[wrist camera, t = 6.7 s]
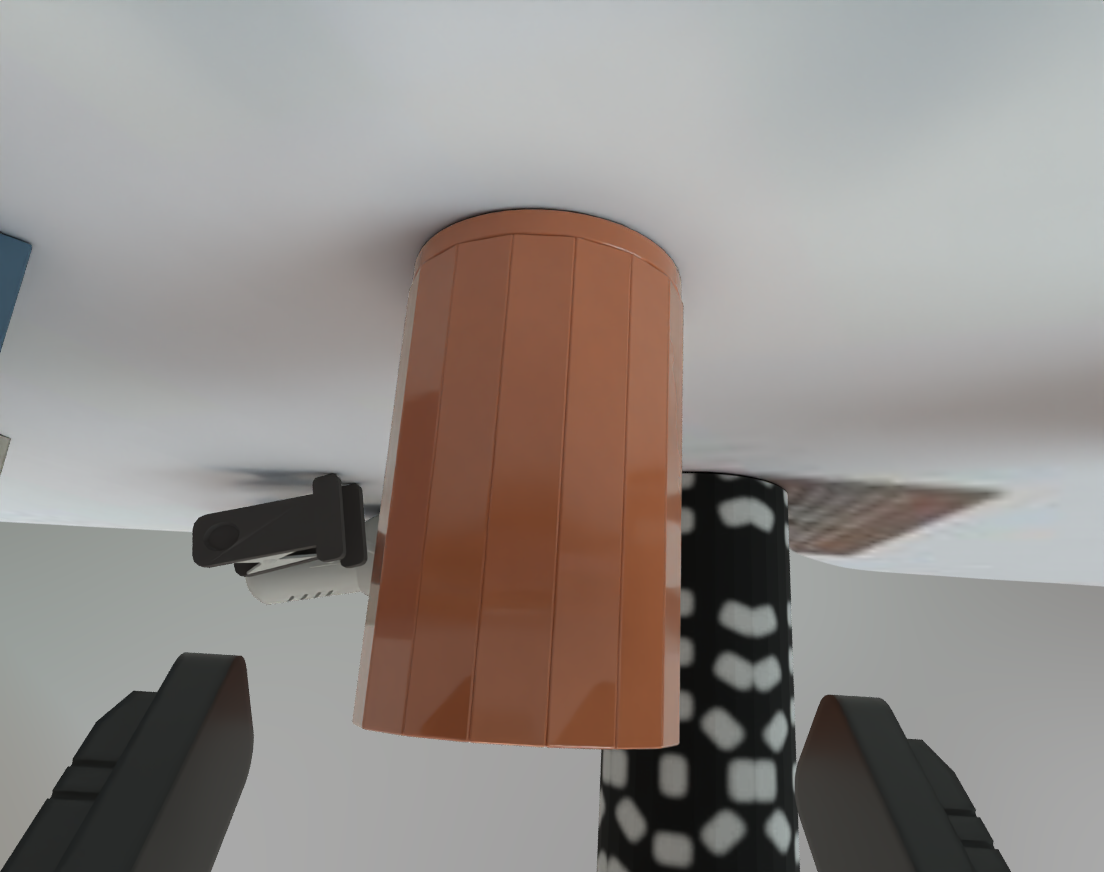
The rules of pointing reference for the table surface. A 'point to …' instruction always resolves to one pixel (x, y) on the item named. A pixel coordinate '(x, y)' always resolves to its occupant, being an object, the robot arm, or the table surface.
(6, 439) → the surgical sutures box
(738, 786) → the white-spotted black cylinder
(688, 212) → the table surface
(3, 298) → the storage box
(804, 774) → the robot arm
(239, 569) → the clip-on lamp
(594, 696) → the tumbler
